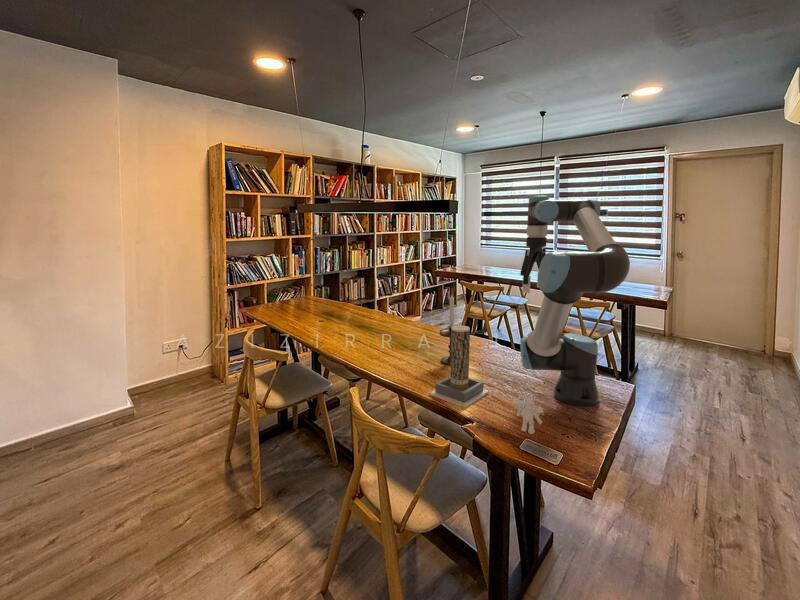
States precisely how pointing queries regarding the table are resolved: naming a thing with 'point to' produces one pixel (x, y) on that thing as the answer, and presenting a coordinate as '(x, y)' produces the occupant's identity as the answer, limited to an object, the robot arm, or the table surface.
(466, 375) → the paper tube
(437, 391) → the collar stand
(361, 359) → the table surface
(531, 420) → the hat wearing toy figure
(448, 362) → the candlestick
